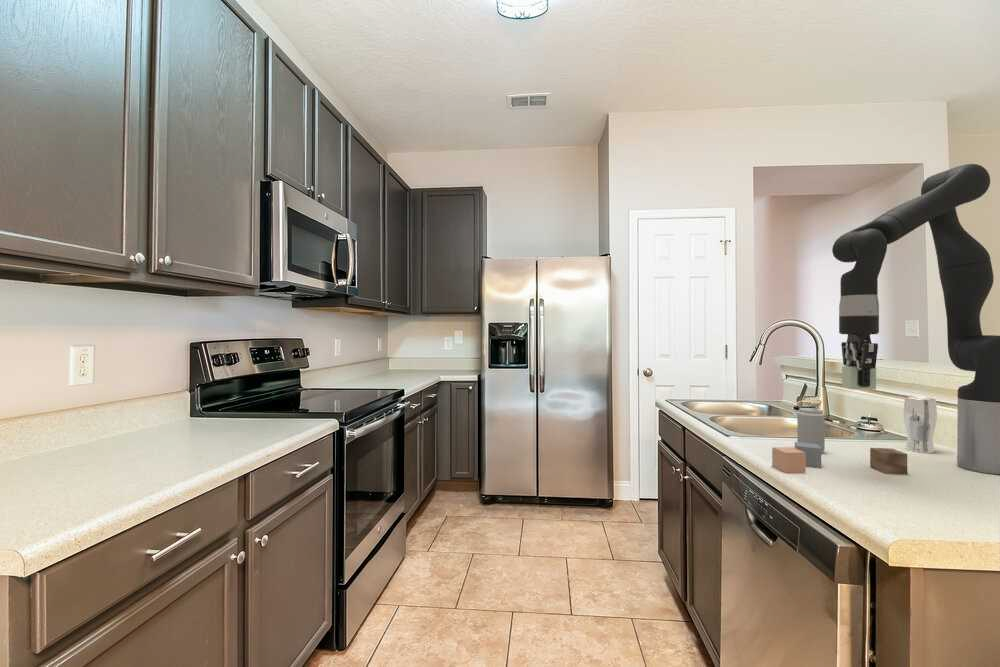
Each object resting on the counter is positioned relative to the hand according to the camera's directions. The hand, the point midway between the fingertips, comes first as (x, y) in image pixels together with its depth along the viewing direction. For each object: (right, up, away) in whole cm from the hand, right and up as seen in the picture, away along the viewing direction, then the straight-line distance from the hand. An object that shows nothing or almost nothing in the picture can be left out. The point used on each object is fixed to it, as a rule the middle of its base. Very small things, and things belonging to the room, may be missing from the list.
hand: (858, 384), depth 108 cm
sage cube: (0, -1, 0) cm, 1 cm away
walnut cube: (+9, -21, +2) cm, 23 cm away
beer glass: (+34, -21, +21) cm, 46 cm away
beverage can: (+3, -21, +20) cm, 30 cm away
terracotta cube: (-15, -21, +3) cm, 26 cm away
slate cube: (-7, -21, +8) cm, 24 cm away
